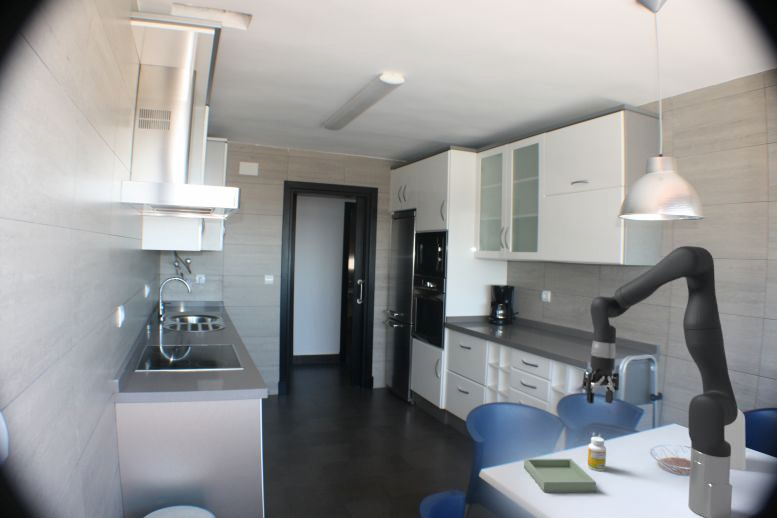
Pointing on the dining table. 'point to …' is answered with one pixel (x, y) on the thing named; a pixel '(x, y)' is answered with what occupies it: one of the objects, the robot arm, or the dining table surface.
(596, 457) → the supplement bottle
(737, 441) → the milk
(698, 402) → the robot arm
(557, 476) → the tray
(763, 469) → the dining table surface
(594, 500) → the dining table surface
